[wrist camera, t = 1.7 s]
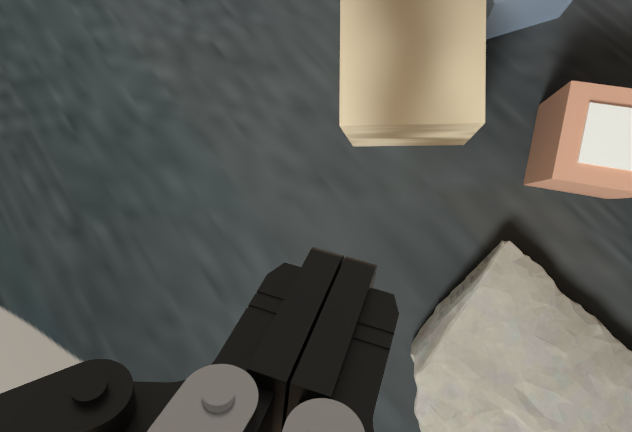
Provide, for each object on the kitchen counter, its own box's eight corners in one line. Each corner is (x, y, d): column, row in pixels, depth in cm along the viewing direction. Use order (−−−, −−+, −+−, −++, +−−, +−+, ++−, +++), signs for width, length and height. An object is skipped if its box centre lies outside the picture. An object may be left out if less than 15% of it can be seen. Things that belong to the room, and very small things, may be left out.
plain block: (464, 34, 32) (486, -25, 24) (463, 145, 32) (485, 122, 24) (354, 39, 33) (340, -15, 25) (353, 146, 33) (339, 125, 25)
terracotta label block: (624, 117, 31) (681, 93, 24) (608, 199, 31) (660, 195, 25) (538, 105, 31) (572, 79, 25) (523, 184, 32) (553, 178, 25)
